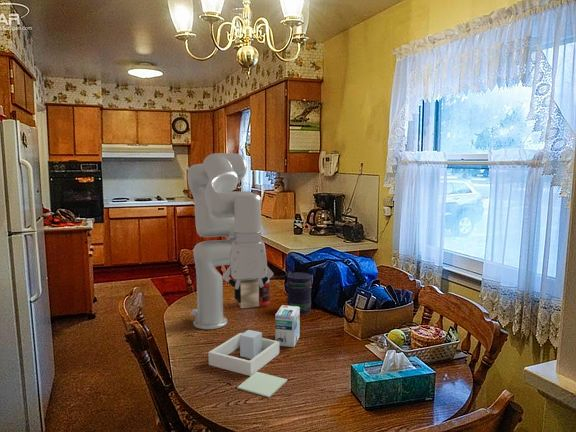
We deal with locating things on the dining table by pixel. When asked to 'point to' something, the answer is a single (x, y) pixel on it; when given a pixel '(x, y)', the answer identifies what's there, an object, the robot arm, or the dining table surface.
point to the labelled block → (249, 293)
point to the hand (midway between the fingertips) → (248, 300)
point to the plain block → (250, 344)
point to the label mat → (262, 384)
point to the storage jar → (299, 291)
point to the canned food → (265, 295)
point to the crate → (224, 361)
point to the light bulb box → (287, 325)
